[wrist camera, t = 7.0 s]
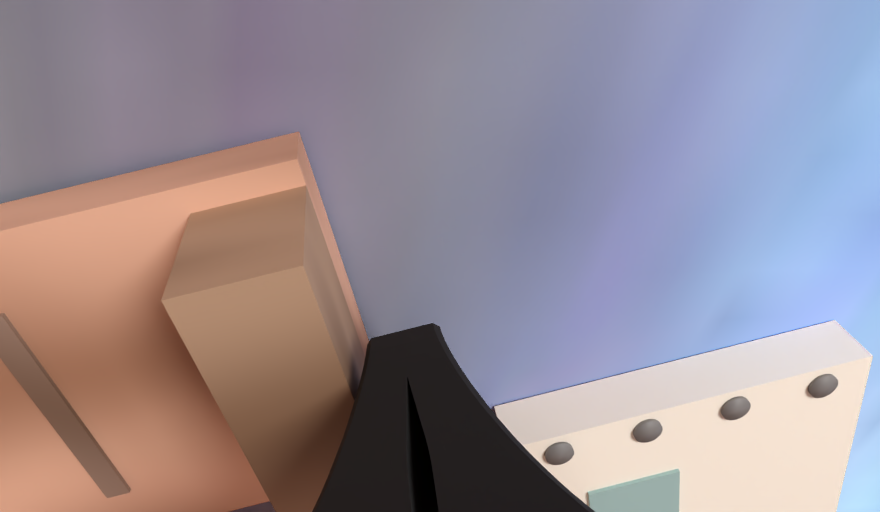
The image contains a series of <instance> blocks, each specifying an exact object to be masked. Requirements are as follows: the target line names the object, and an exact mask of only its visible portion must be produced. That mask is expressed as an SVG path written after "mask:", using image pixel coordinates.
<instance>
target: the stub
mask: <svg viewBox="0 0 880 512" xmlns="http://www.w3.org/2000/svg"><path fill="white" fill-rule="evenodd" d="M368 343H369V340H368V337H367V334H366V331H365V328H364V325H363V322H362V319H361V316H360V313H359V310H358V307H357V304H356V301H355V298H354V295H353V292H352V289H351V286H350V283H349V280H348V277H347V274H346V271H345V268H344V265H343V262H342V259H341V256H340V253H339V250H338V247H337V244H336V241H335V238H334V235H333V232H332V229H331V226H330V223H329V220H328V217H327V214H326V211H325V208H324V205H323V202H322V199H321V196H320V193H319V190H318V187H317V184H316V181H315V178H314V175H313V172H312V169H311V166H310V163H309V160H308V157H307V154H306V151H305V148H304V145H303V142H302V139H301V136H300V133H299V132H295V133H291V134H287V135H283V136H279V137H275V138H271V139H266V140H262V141H258V142H254V143H250V144H246V145H242V146H238V147H233V148H229V149H225V150H221V151H217V152H213V153H209V154H204V155H200V156H196V157H192V158H188V159H184V160H180V161H176V162H171V163H167V164H163V165H159V166H155V167H151V168H147V169H143V170H138V171H134V172H130V173H126V174H122V175H118V176H114V177H109V178H105V179H101V180H97V181H93V182H89V183H85V184H81V185H76V186H72V187H68V188H64V189H60V190H56V191H52V192H48V193H43V194H39V195H35V196H31V197H27V198H23V199H19V200H14V201H10V202H6V203H2V204H0V512H229V511H233V510H237V509H241V508H245V507H249V506H252V505H256V504H260V503H264V502H268V501H270V502H271V504H272V506H273V508H274V510H275V511H276V512H312V511H313V509H314V507H315V504H316V502H317V500H318V498H319V496H320V493H321V491H322V489H323V487H324V484H325V482H326V480H327V477H328V475H329V472H330V470H331V467H332V465H333V462H334V459H335V457H336V454H337V452H338V449H339V446H340V444H341V441H342V439H343V436H344V433H345V430H346V427H347V424H348V420H349V417H350V414H351V411H352V408H353V404H354V401H355V398H356V394H357V390H358V387H359V383H360V379H361V375H362V370H363V366H364V361H365V355H366V348H367V344H368Z"/></svg>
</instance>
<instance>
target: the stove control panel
mask: <svg viewBox="0 0 880 512" xmlns="http://www.w3.org/2000/svg"><path fill="white" fill-rule="evenodd" d="M872 357H873V356H872V355H871V354H870V353H869V352H868V351H867V350H866V349H865V348H864V347H863V346H862V345H861V344H860V343H859V342H857V341H856V340H855V339H854V338H853V337H852V336H851V335H850V334H849V333H848V332H847V331H846V330H845V329H844V328H843V327H842V326H841V325H840V324H838V323H837V322H836V321H835V320H833V321H829V322H825V323H821V324H817V325H813V326H809V327H805V328H801V329H797V330H794V331H790V332H786V333H782V334H778V335H774V336H770V337H766V338H762V339H758V340H754V341H750V342H746V343H742V344H738V345H734V346H730V347H727V348H723V349H719V350H715V351H711V352H707V353H703V354H699V355H695V356H691V357H687V358H683V359H679V360H675V361H671V362H667V363H663V364H660V365H656V366H652V367H648V368H644V369H640V370H636V371H632V372H628V373H624V374H620V375H616V376H612V377H608V378H604V379H600V380H596V381H593V382H589V383H585V384H581V385H577V386H573V387H569V388H565V389H561V390H557V391H553V392H549V393H545V394H541V395H537V396H533V397H529V398H526V399H522V400H518V401H514V402H510V403H506V404H502V405H498V406H494V408H495V413H496V416H497V417H498V419H499V420H500V421H501V422H502V423H503V424H504V425H505V427H506V428H507V429H508V430H509V431H510V432H511V433H512V435H513V436H514V437H515V438H516V439H517V440H518V441H519V442H520V443H521V444H522V445H523V446H524V447H525V449H526V450H527V451H528V452H529V453H530V454H531V455H532V456H533V457H534V458H535V459H536V460H537V461H538V462H539V463H540V464H541V465H542V466H543V467H545V468H546V469H547V470H548V471H549V472H550V473H551V474H552V475H553V476H554V477H555V478H556V479H557V480H558V481H560V482H561V483H562V484H563V485H564V486H565V487H566V488H567V489H568V490H569V491H571V492H572V493H573V494H574V495H575V496H577V497H578V498H579V499H580V500H581V501H583V502H584V503H585V504H586V505H588V506H589V507H590V508H591V509H593V510H594V511H595V512H836V510H837V505H838V501H839V497H840V493H841V488H842V484H843V480H844V476H845V472H846V467H847V463H848V459H849V455H850V450H851V446H852V442H853V438H854V434H855V429H856V425H857V421H858V417H859V412H860V408H861V404H862V400H863V396H864V391H865V387H866V383H867V379H868V374H869V370H870V366H871V362H872Z"/></svg>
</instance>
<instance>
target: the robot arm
mask: <svg viewBox="0 0 880 512" xmlns="http://www.w3.org/2000/svg"><path fill="white" fill-rule="evenodd" d="M312 512H595V511H594V510H593V509H591V508H590V507H589V506H588V505H586V504H585V503H584V502H583V501H581V500H580V499H579V498H578V497H577V496H575V495H574V494H573V493H572V492H571V491H569V490H568V489H567V488H566V487H565V486H564V485H563V484H562V483H561V482H560V481H558V480H557V479H556V478H555V477H554V476H553V475H552V474H551V473H550V472H549V471H548V470H547V469H546V468H545V467H543V466H542V465H541V464H540V463H539V462H538V461H537V460H536V459H535V458H534V457H533V456H532V455H531V454H530V453H529V452H528V451H527V450H526V449H525V447H524V446H523V445H522V444H521V443H520V442H519V441H518V440H517V439H516V438H515V437H514V436H513V435H512V433H511V432H510V431H509V430H508V429H507V428H506V427H505V425H504V424H503V423H502V422H501V421H500V420H499V419H498V417H497V416H496V415H495V414H494V413H493V411H492V410H491V409H490V408H489V406H488V405H487V404H486V403H485V401H484V400H483V399H482V397H481V396H480V395H479V393H478V392H477V391H476V389H475V388H474V387H473V385H472V384H471V383H470V381H469V380H468V378H467V377H466V375H465V374H464V373H463V371H462V370H461V368H460V366H459V365H458V363H457V361H456V360H455V358H454V357H453V355H452V353H451V351H450V350H449V348H448V346H447V344H446V342H445V340H444V337H443V335H442V332H441V329H440V327H439V326H437V325H435V324H433V323H431V324H427V325H423V326H419V327H415V328H411V329H407V330H403V331H399V332H395V333H391V334H387V335H383V336H379V337H375V338H371V340H370V341H369V343H368V344H367V348H366V355H365V361H364V366H363V370H362V375H361V379H360V383H359V387H358V390H357V394H356V398H355V401H354V404H353V408H352V411H351V414H350V417H349V420H348V424H347V427H346V430H345V433H344V436H343V439H342V441H341V444H340V446H339V449H338V452H337V454H336V457H335V459H334V462H333V465H332V467H331V470H330V472H329V475H328V477H327V480H326V482H325V484H324V487H323V489H322V491H321V493H320V496H319V498H318V500H317V502H316V504H315V507H314V509H313V511H312Z"/></svg>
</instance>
